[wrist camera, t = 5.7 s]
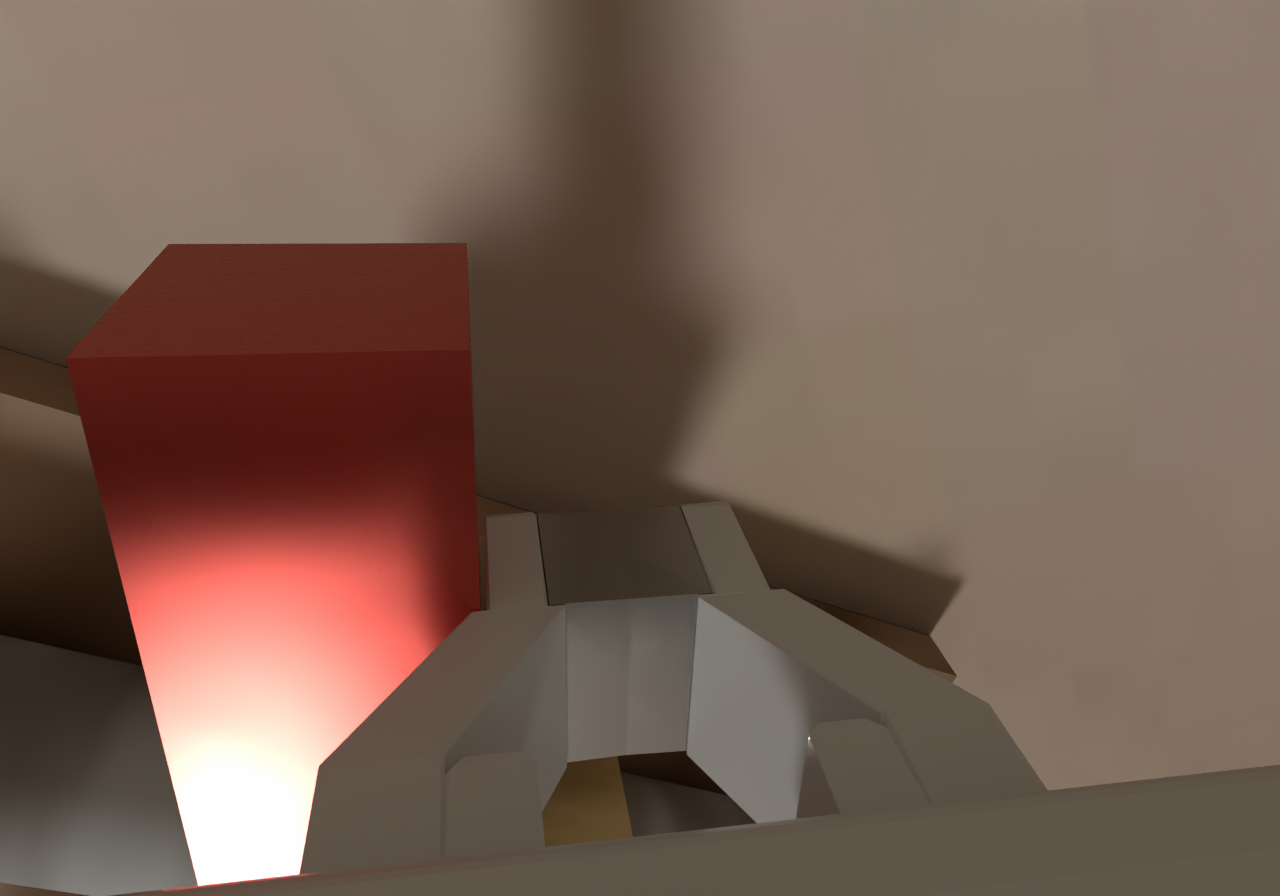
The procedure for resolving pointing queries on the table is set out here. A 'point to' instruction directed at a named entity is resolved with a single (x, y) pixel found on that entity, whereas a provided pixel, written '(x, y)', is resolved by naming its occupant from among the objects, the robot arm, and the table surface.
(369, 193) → the table surface
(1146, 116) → the table surface
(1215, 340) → the table surface
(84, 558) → the valve mount
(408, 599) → the valve lever
